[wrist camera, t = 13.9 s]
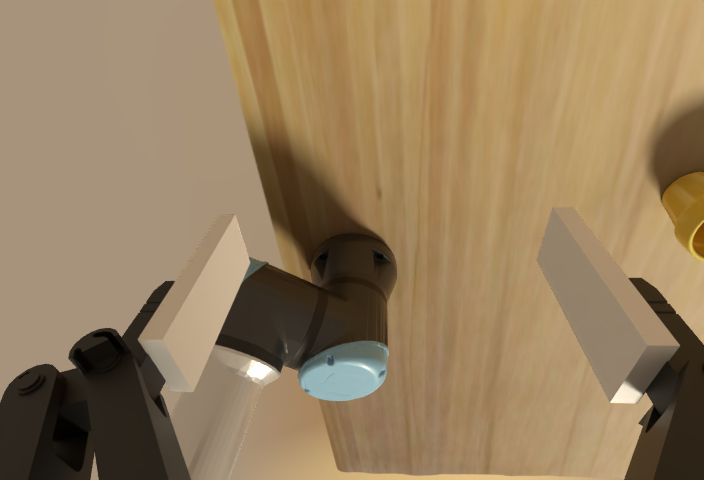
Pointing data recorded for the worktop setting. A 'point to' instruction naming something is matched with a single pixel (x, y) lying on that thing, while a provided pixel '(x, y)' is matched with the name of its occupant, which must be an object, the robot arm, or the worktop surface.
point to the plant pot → (687, 211)
